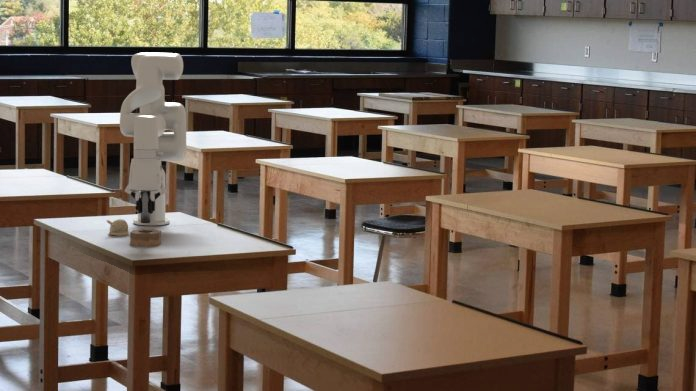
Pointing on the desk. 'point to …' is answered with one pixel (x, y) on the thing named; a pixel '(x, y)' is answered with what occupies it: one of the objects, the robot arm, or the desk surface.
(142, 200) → the grey square post
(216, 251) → the desk surface
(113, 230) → the decorative ornament
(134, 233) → the bead
